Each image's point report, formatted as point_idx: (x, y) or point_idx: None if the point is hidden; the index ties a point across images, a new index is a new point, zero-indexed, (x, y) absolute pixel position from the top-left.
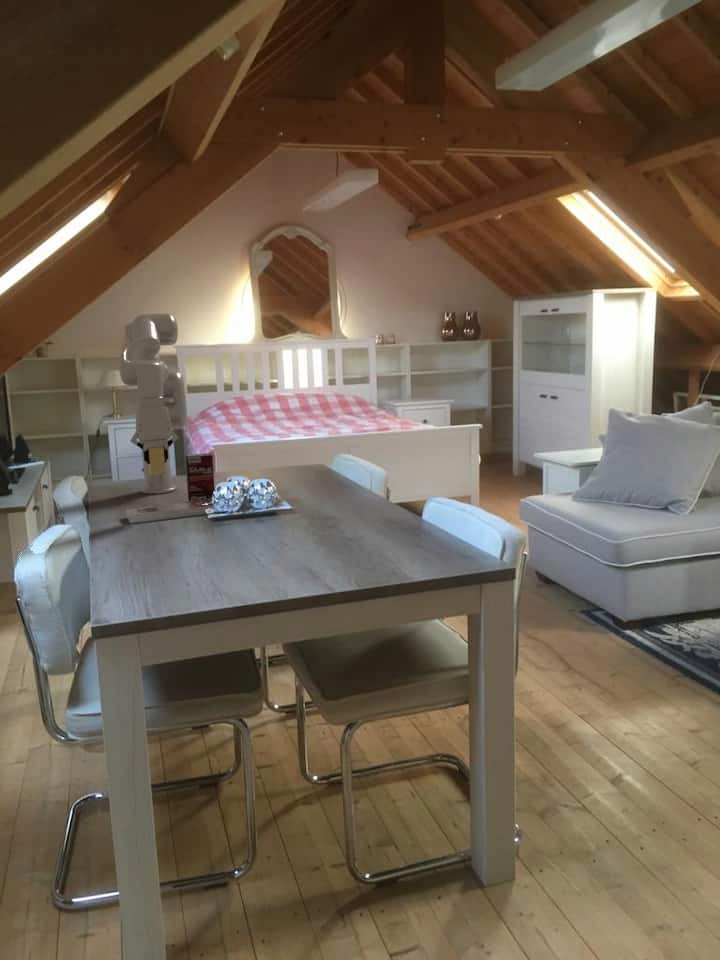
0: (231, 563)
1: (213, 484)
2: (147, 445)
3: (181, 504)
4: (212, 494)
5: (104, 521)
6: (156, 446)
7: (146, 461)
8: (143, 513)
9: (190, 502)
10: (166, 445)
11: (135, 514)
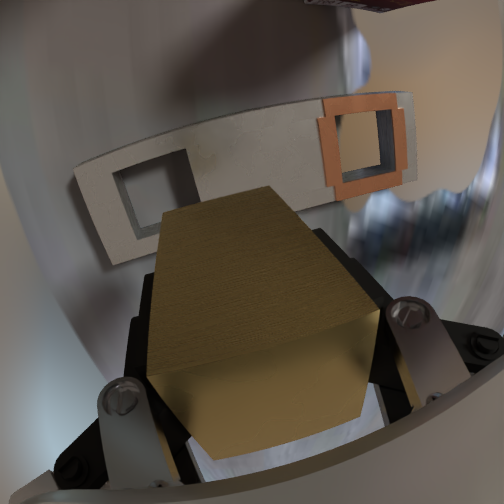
0: (321, 443)
1: (416, 3)
2: (201, 479)
3: (287, 128)
4: (389, 8)
5: (31, 205)
6: (300, 369)
7: (146, 281)
8: (155, 246)
9: (320, 104)
10: (402, 397)
11: (129, 254)
